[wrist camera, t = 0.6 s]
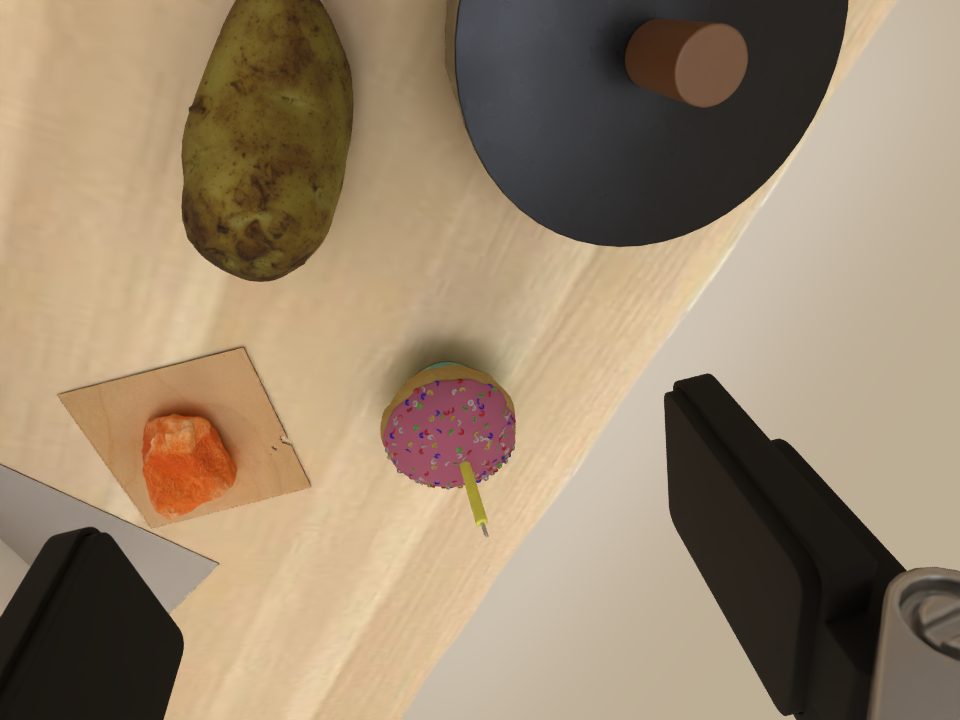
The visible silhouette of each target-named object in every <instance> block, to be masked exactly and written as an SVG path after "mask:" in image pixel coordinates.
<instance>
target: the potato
mask: <svg viewBox="0 0 960 720" xmlns="http://www.w3.org/2000/svg"><path fill="white" fill-rule="evenodd" d="M352 120H353V90H352V78H351V71H350V66H349V63H348V61H347V58H346V54H345V51H344V49H343V47H342V45H341V43H340V40H339V38H338V35H337V33H336V30H335V28H334V25H333V23H332V21H331V19H330V17H329V15H328V13H327V11H326V9H325V8H324V6H323V4H322V3H321V2H320V0H236V1H235V3H234V4H233V6H232V8H231V10H230V12H229V14H228V16H227V18H226V20H225V22H224V24H223V26H222V29H221V32H220V35H219V37H218V39H217V41H216V44H215V46H214V49H213V51H212V54H211V56H210V58H209V61H208V63H207V66H206V69H205V71H204V74H203V77H202V79H201V82H200V85H199V87H198V90H197V93H196V96H195V99H194V102H193V104H192V106H191V107H189V115H188V118H187V122H186V125H185V129H184V135H183V140H182V165H183V175H184V186H183V194H182V219H183V222H184V226H185V230H186V234H187V238H188V239H189V241H190V242H191V243H192V244H193V246H194V247H195V248H196V250H197V251H198V252H199V253H200V254H201V255H202V256H203V257H204V258H205V259H207V260H208V261H209V262H211V263H212V264H214V265H215V266H217V267H218V268H220V269H222V270H223V271H226V272H228V273H230V274H232V275H234V276H237V277H239V278H242V279H245V280H248V281H257V282H264V281H272V280H276V279H279V278H281V277H283V276H285V275H287V274H288V273H290V272H292V271H294V270H295V269H297V268H298V267H300V266H301V265H304V264H305V262H306V261H307V259H308V258H309V257H310V256H311V255H312V254H314V252H315V251H316V250H317V249H318V248H319V246H320V245H321V244H322V242H323V241H324V239H325V237H326V235H327V234H328V231H329V229H330V226H331V223H332V219H333V216H334V212H335V209H336V206H337V202H338V199H339V196H340V193H341V189H342V184H343V179H344V173H345V166H346V159H347V153H348V149H349V145H350V140H351V133H352Z"/></svg>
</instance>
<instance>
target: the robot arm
mask: <svg viewBox="0 0 960 720" xmlns="http://www.w3.org/2000/svg"><path fill="white" fill-rule="evenodd" d="M664 409H665V431H666V452H667V473H668V495H669V510H670V514H671V518H672V521H673V523H674V526H675V528H676V530H677V532H678V533H679V535H680V537H681V539H682V540H683V542H684V544H685V546H686V548H687V549H688V551H689V553H690V555H691V557H692V558H693V560H694V562H695V563H696V565H697V567H698V569H699V571H700V572H701V574H702V576H703V578H704V580H705V582H706V583H707V585H708V587H709V588H710V591H711V592H712V594H713V596H714V598H715V599H716V601H717V603H718V605H719V607H720V608H721V610H722V612H723V614H724V615H725V617H726V619H727V621H728V622H729V624H730V626H731V628H732V630H733V632H734V633H735V635H736V637H737V639H738V640H739V642H740V644H741V646H742V648H743V649H744V651H745V653H746V655H747V656H748V658H749V660H750V662H751V664H752V665H753V667H754V669H755V671H756V672H757V674H758V676H759V678H760V679H761V681H762V683H763V685H764V687H765V689H766V690H767V692H768V694H769V696H770V697H771V699H772V701H773V703H774V704H775V706H776V707H777V709H778V710H779V712H780V713H781V714H782V715H784V716H787V715H791V714H793V715H794V717H795V718H796V720H960V571H958V570H951V569H945V568H939V567H926V568H914V569H912V570H909V571H906V569H905V568H904V567H903V566H902V565H901V564H900V563H899V562H898V561H897V560H896V559H895V557H894V556H893V555H892V554H891V553H890V552H889V551H888V550H887V549H886V548H885V547H884V545H883V544H882V543H881V542H880V541H879V540H878V539H877V538H876V537H875V536H874V535H873V534H872V533H871V531H870V530H869V529H868V528H867V527H866V526H865V525H864V524H863V523H862V522H861V520H860V519H859V518H858V517H857V516H856V515H855V514H854V513H853V512H852V511H851V510H850V509H849V508H848V506H847V505H846V504H845V503H844V502H843V501H842V500H841V499H840V498H839V497H838V496H837V495H836V493H834V491H833V490H832V489H831V488H830V487H829V486H828V485H827V484H826V482H824V480H823V479H822V478H821V477H820V476H819V475H818V474H817V473H816V472H815V471H814V470H813V468H812V467H811V466H810V465H809V464H808V463H807V462H806V461H805V460H804V459H803V458H802V456H801V455H800V454H799V453H798V452H797V451H796V450H795V449H794V448H793V447H792V446H791V445H790V444H788V442H786V441H784V440H782V439H775V440H770V439H769V438H768V437H767V436H766V435H765V434H764V433H763V431H762V430H761V429H760V428H759V427H758V426H757V425H756V424H755V422H754V421H753V420H752V419H751V418H750V417H749V416H748V414H747V413H746V412H745V411H744V410H743V409H742V408H741V406H740V405H738V403H737V402H736V401H735V400H734V399H733V397H732V396H731V395H730V394H729V393H728V392H727V391H726V390H725V389H724V387H723V386H722V385H721V384H720V383H719V382H718V381H717V379H716V378H715V377H714V376H713V375H711V374H703V375H700V376H695V377H691V378H688V379H683V380H679V381H676V382H675V383H674V386H673V391H671V392H667V393H665V396H664ZM183 650H184V641H183V636H182V633H181V631H180V629H179V628H178V626H177V625H176V623H175V622H174V621H173V619H172V618H171V617H170V615H169V614H168V613H167V611H166V610H165V608H164V607H163V606H162V604H161V603H160V602H159V600H158V599H157V597H156V596H155V595H154V593H153V592H152V591H151V589H150V588H149V587H148V585H147V584H146V582H145V581H144V580H143V578H142V577H141V576H140V574H139V573H138V571H137V570H136V569H135V567H134V566H133V565H132V563H131V562H130V561H129V559H128V558H127V556H126V555H125V554H124V552H123V551H122V550H121V548H120V547H119V545H118V544H117V543H116V541H115V540H114V539H113V537H112V536H111V535H110V534H108V533H106V532H102V533H101V532H100V531H99V530H98V529H97V528H94V527H85V528H81V529H76V530H72V531H68V532H64V533H60V534H56V535H54V536H52V537H50V538H49V539H48V540H47V541H46V542H45V544H44V545H43V547H42V549H41V550H40V552H39V554H38V555H37V557H36V559H35V560H34V562H33V564H32V565H31V567H30V569H29V570H28V572H27V574H26V575H25V577H24V579H23V580H22V582H21V584H20V585H19V587H18V588H17V590H16V592H15V593H14V595H13V597H12V598H11V600H10V602H9V603H8V605H7V607H6V608H5V610H4V612H3V613H2V615H1V617H0V720H163V719H164V716H165V713H166V709H167V706H168V702H169V699H170V696H171V692H172V689H173V685H174V682H175V679H176V675H177V672H178V668H179V665H180V662H181V658H182V655H183Z"/></svg>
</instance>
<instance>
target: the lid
mask: <svg viewBox="0 0 960 720" xmlns="http://www.w3.org/2000/svg"><path fill="white" fill-rule="evenodd" d="M847 12H848V0H458V3H457V8H456V15H455V26H454V36H453V65H454V77H455V84H456V91H457V99H458V103H459V106H460V110H461V114H462V118H463V121H464V125H465V128H466V130H467V133H468V135H469V138H470V140H471V142H472V145H473V147H474V150H475V152H476V153H477V155H478V157H479V159H480V160H481V162H482V164H483V166H484V167H485V169H486V171H487V173H488V174H489V175H490V177H491V178H492V179H493V181H494V182H495V183H496V185H497V186H498V187H499V189H500V190H501V191H502V192H503V194H504V195H505V196H506V197H507V198H508V199H509V200H510V201H512V202H513V203H514V204H515V205H516V206H517V207H518V208H519V209H520V210H521V211H522V212H524V213H525V214H526V215H528V216H529V217H530V218H532V219H533V220H534V221H536V222H537V223H539V224H541V225H543V226H544V227H546V228H548V229H550V230H552V231H554V232H555V233H558V234H560V235H563V236H566V237H568V238H571V239H574V240H577V241H581V242H586V243H590V244H595V245H602V246H615V247H626V246H642V245H648V244H653V243H659V242H664V241H667V240H670V239H674V238H677V237H680V236H683V235H686V234H688V233H691V232H693V231H695V230H697V229H700V228H702V227H704V226H706V225H708V224H710V223H712V222H713V221H715V220H717V219H718V218H720V217H722V216H724V215H725V214H727V213H728V212H730V211H731V210H733V209H734V208H735V207H737V206H738V205H739V204H741V203H742V202H744V201H745V200H746V199H747V198H749V197H750V196H751V195H752V194H753V193H754V192H755V191H756V190H758V189H759V188H760V187H761V186H762V185H763V184H764V183H765V182H766V181H767V180H768V179H769V178H770V177H771V176H772V175H773V174H774V173H775V171H776V170H777V169H778V168H779V167H780V166H781V165H782V164H783V163H784V161H785V160H786V159H787V157H788V156H789V155H790V153H791V152H792V151H793V149H794V148H795V147H796V145H797V144H798V143H799V141H800V140H801V138H802V136H803V135H804V133H805V131H806V130H807V128H808V127H809V125H810V123H811V122H812V120H813V118H814V116H815V114H816V112H817V110H818V108H819V106H820V104H821V102H822V100H823V98H824V96H825V94H826V91H827V89H828V86H829V83H830V81H831V78H832V75H833V73H834V70H835V67H836V64H837V60H838V56H839V53H840V49H841V45H842V41H843V37H844V31H845V24H846V18H847Z"/></svg>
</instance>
